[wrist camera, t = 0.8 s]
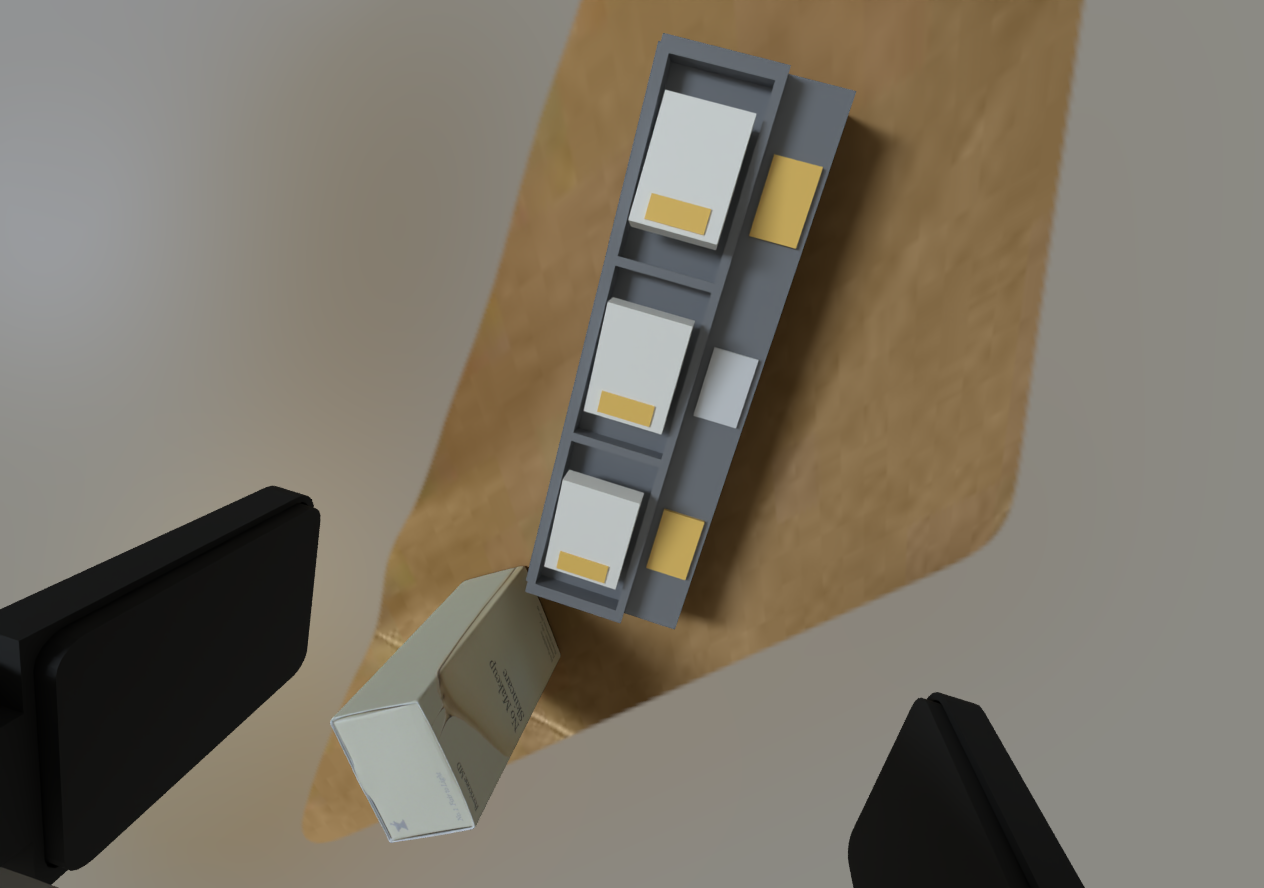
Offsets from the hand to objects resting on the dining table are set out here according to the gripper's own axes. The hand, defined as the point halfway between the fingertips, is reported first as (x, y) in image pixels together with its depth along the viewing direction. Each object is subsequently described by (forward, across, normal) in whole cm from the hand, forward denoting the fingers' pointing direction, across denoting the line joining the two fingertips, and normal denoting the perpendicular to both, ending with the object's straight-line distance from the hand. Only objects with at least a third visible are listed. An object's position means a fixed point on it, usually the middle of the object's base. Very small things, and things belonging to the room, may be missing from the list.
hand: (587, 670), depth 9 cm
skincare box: (+23, +6, +16) cm, 28 cm away
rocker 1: (+18, +2, -9) cm, 21 cm away
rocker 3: (+18, +2, +7) cm, 19 cm away
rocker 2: (+18, +2, -1) cm, 18 cm away
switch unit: (+23, +1, -1) cm, 23 cm away
